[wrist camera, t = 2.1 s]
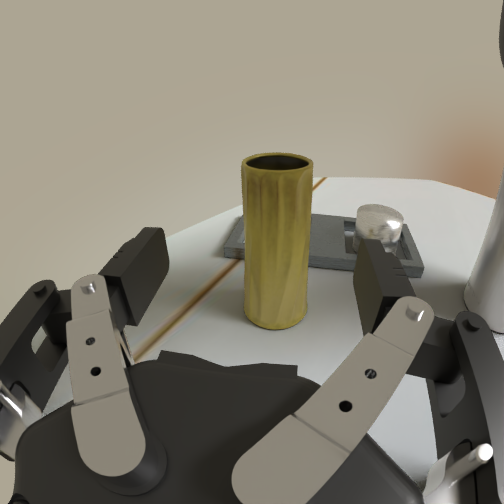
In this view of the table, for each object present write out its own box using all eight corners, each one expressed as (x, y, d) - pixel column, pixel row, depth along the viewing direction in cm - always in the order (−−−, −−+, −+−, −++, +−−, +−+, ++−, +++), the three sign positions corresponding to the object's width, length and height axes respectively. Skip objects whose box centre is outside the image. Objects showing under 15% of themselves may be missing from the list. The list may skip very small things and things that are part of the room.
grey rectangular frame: (404, 233, 40) (411, 202, 38) (421, 277, 31) (432, 241, 29) (247, 217, 45) (245, 186, 43) (224, 257, 36) (221, 220, 34)
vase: (233, 321, 27) (220, 169, 20) (257, 282, 32) (253, 148, 24) (297, 337, 25) (310, 177, 18) (312, 294, 30) (325, 155, 22)
